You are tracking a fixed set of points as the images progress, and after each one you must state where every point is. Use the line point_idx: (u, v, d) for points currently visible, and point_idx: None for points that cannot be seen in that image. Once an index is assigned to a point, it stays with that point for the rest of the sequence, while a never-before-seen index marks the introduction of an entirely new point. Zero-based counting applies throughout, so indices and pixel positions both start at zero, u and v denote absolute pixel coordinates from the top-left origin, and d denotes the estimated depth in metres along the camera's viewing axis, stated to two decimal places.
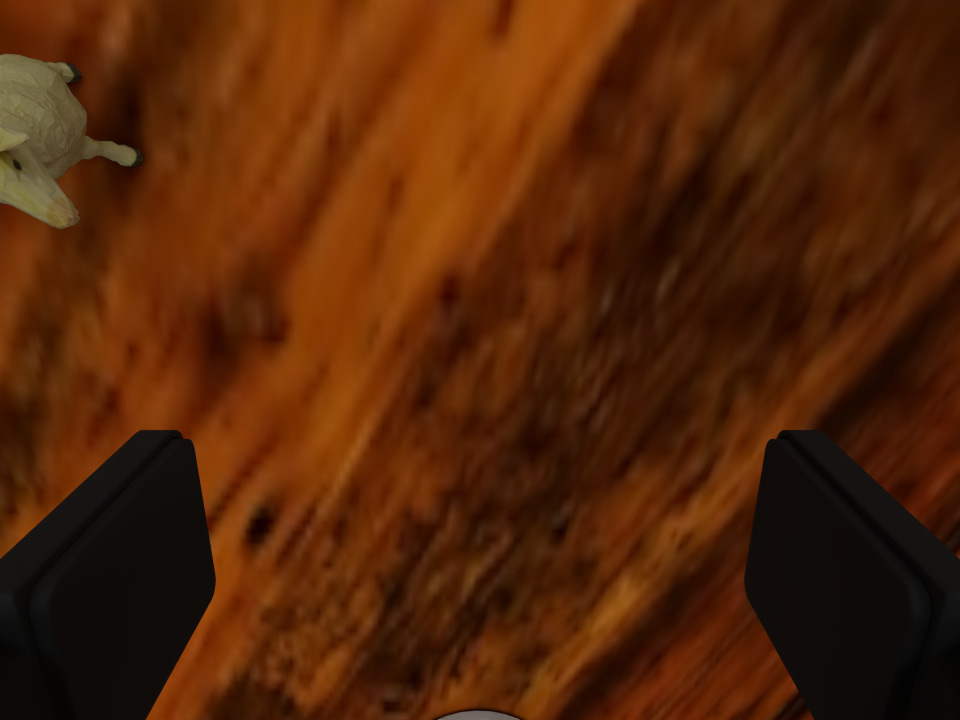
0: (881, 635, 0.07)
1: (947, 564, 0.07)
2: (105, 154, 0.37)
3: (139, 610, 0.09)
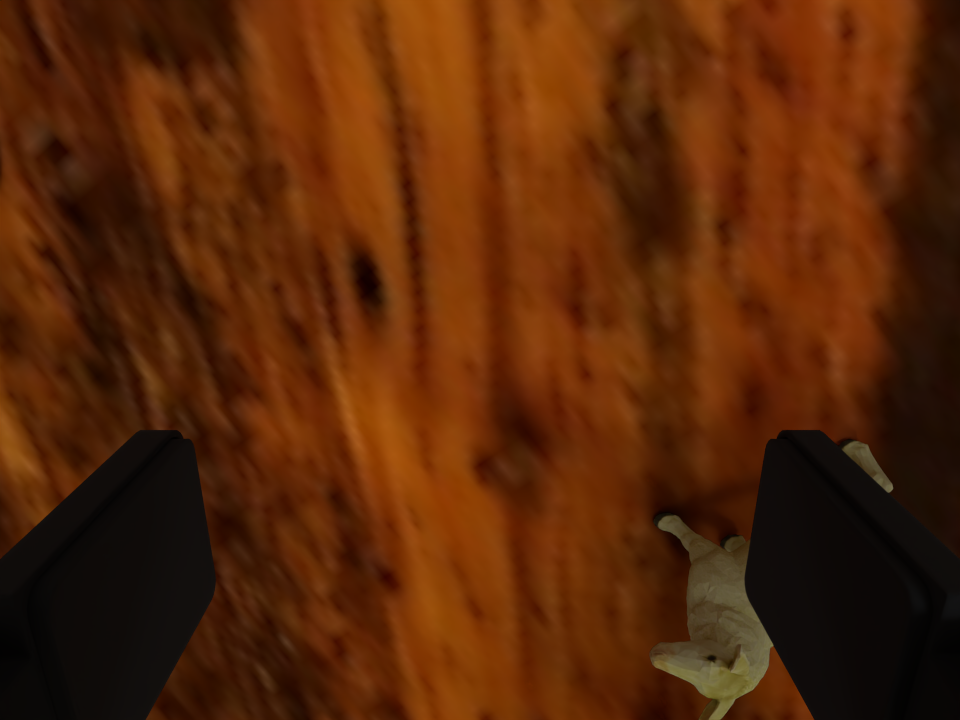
0: (881, 635, 0.07)
1: (948, 564, 0.07)
2: (677, 533, 0.45)
3: (139, 610, 0.09)
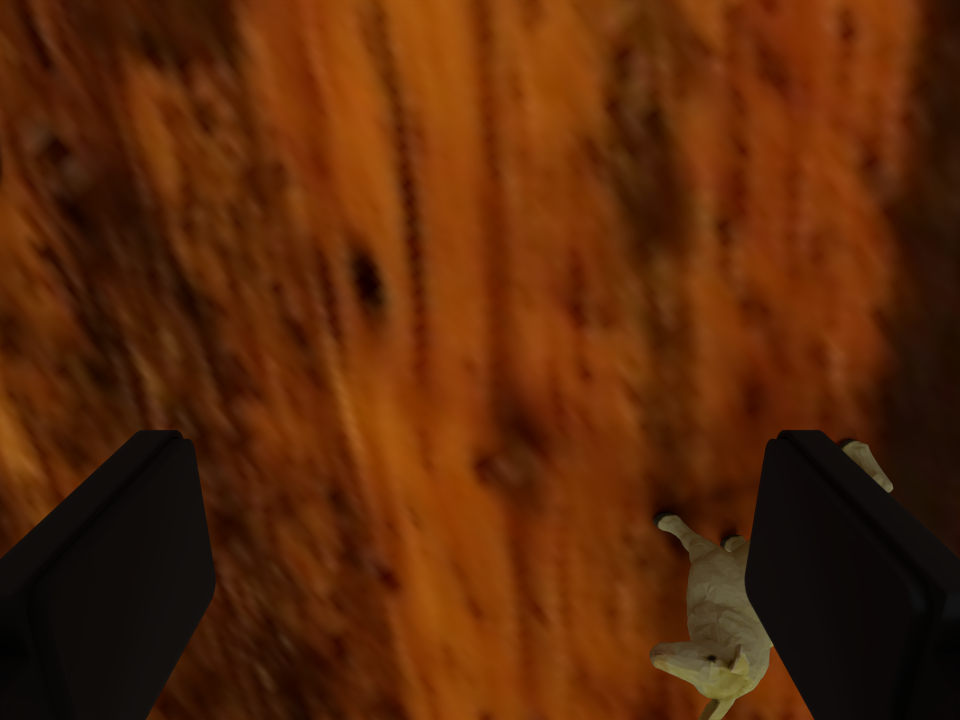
0: (881, 635, 0.07)
1: (948, 564, 0.07)
2: (677, 533, 0.45)
3: (139, 610, 0.09)
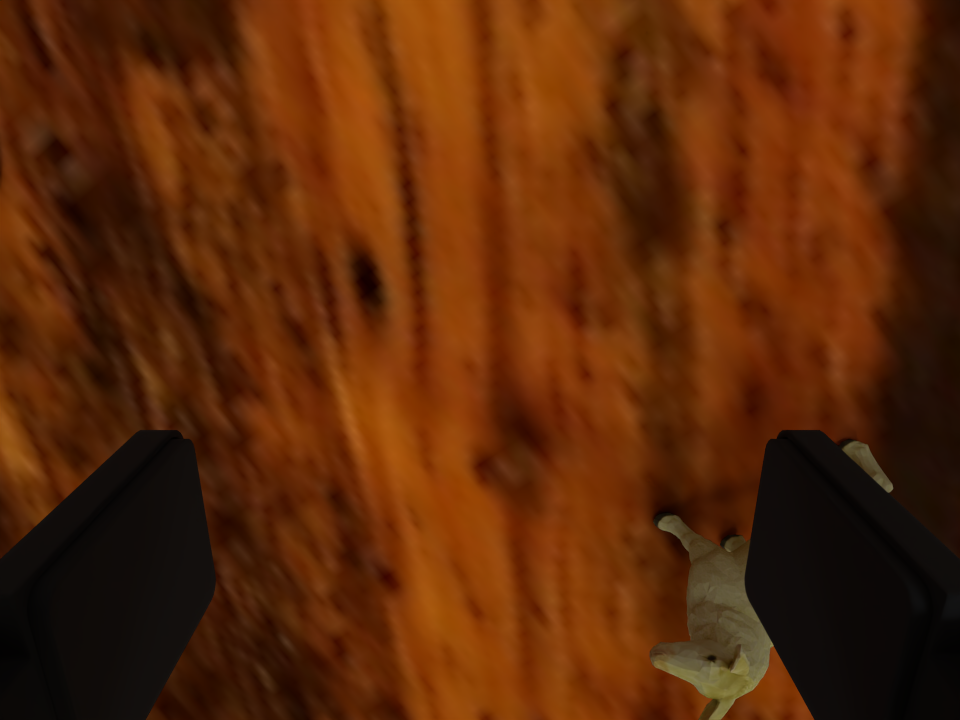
0: (881, 635, 0.07)
1: (948, 564, 0.07)
2: (677, 533, 0.45)
3: (139, 610, 0.09)
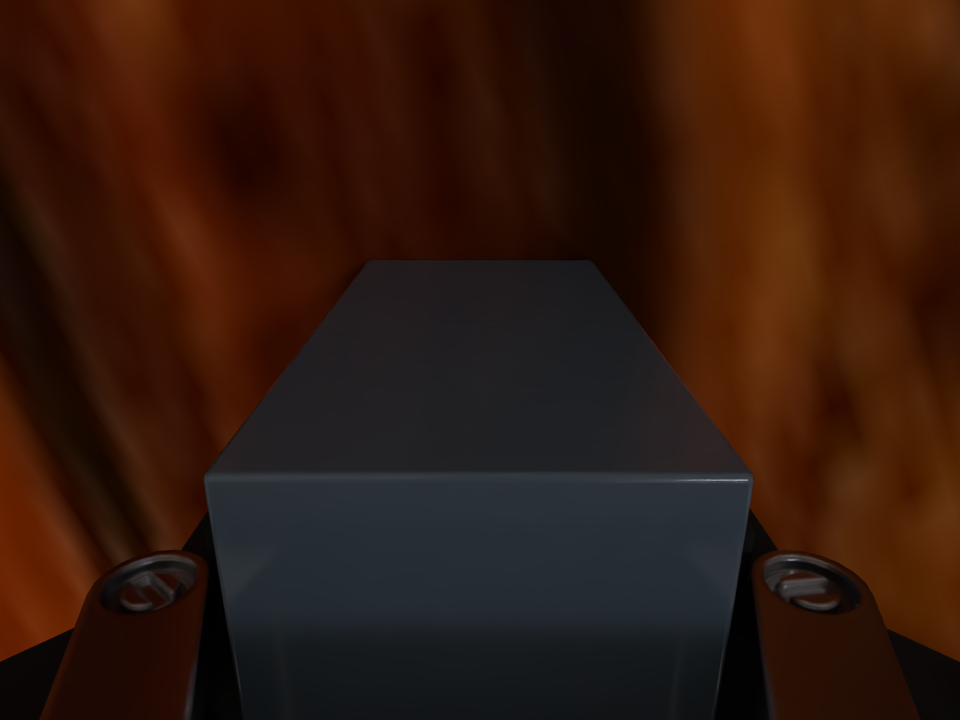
0: None
1: None
2: None
3: None
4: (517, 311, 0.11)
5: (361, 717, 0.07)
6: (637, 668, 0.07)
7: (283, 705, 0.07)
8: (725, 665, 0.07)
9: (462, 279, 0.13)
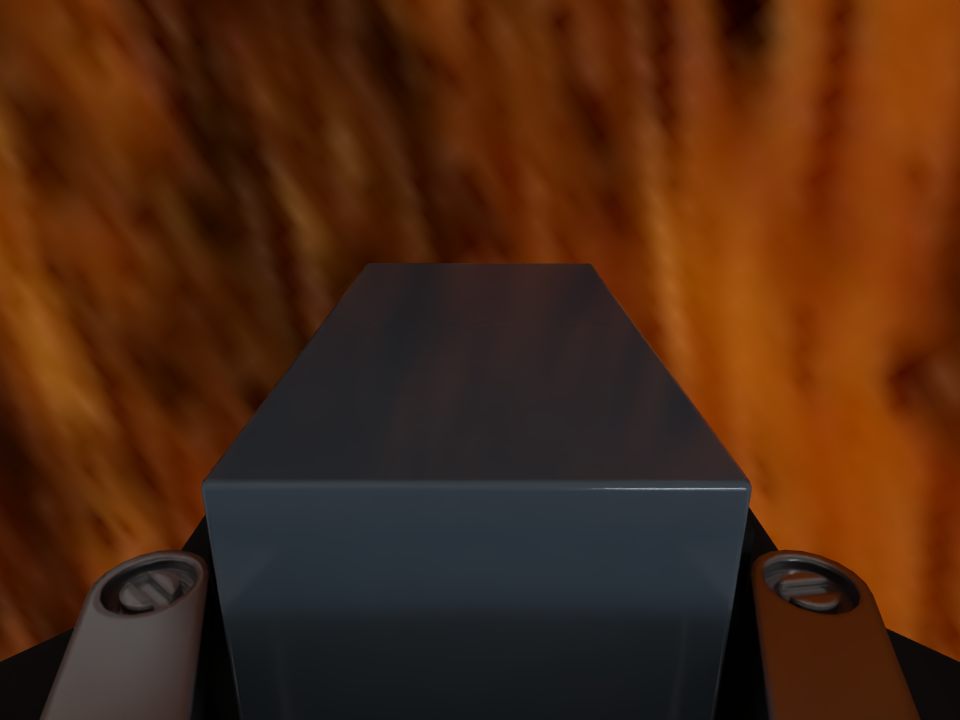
0: None
1: None
2: None
3: None
4: (515, 316, 0.11)
5: None
6: (635, 675, 0.07)
7: (281, 713, 0.07)
8: (725, 665, 0.07)
9: (461, 283, 0.13)
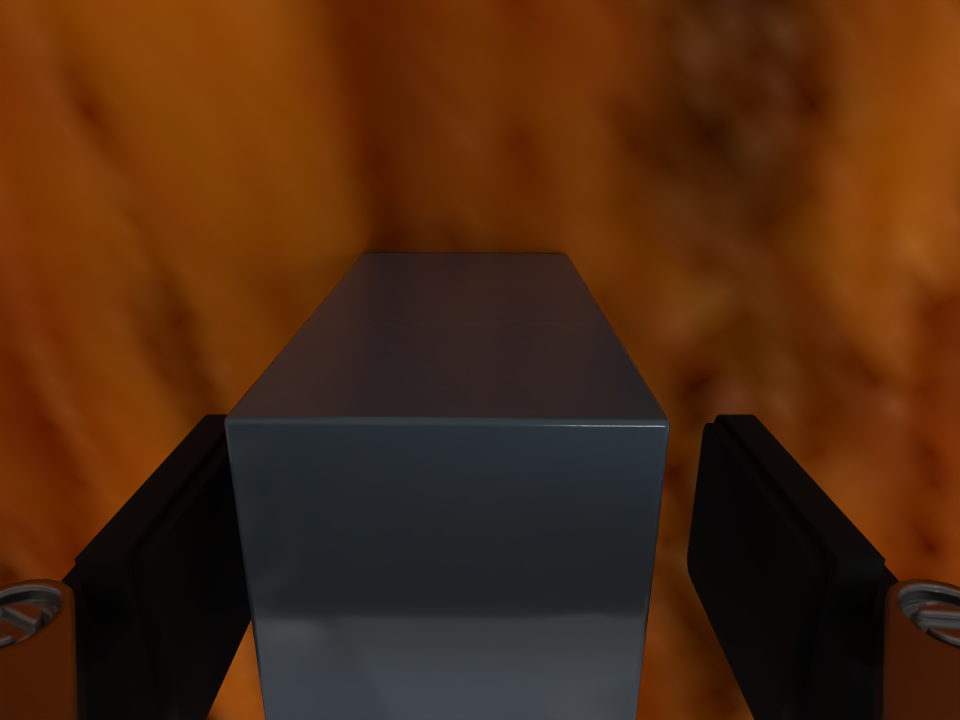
0: (787, 600, 0.08)
1: (844, 533, 0.08)
2: None
3: (216, 582, 0.09)
4: (493, 297, 0.12)
5: (352, 626, 0.08)
6: (579, 584, 0.08)
7: (286, 616, 0.08)
8: (856, 703, 0.07)
9: (447, 269, 0.14)
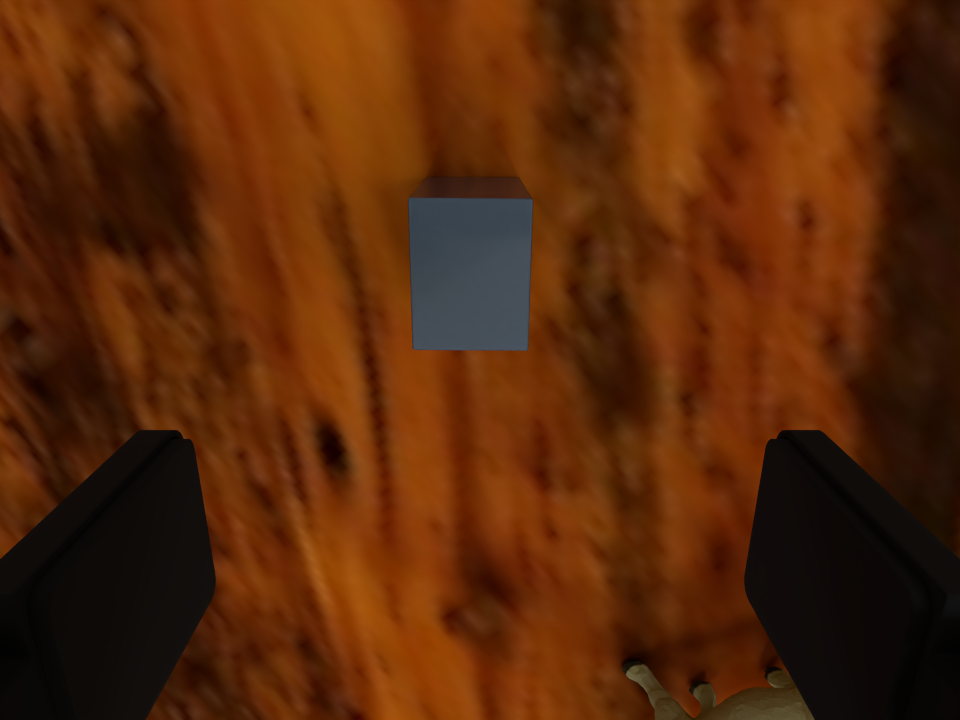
0: (881, 635, 0.07)
1: (947, 564, 0.07)
2: (645, 686, 0.45)
3: (139, 610, 0.09)
4: (485, 184, 0.31)
5: (441, 268, 0.27)
6: (509, 253, 0.27)
7: (421, 264, 0.27)
8: None
9: (466, 180, 0.33)
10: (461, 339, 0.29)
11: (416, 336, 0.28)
